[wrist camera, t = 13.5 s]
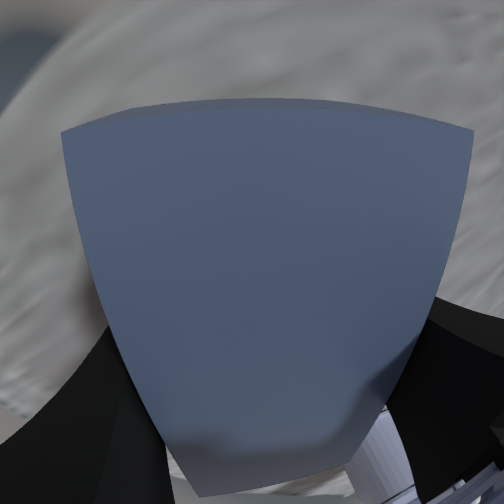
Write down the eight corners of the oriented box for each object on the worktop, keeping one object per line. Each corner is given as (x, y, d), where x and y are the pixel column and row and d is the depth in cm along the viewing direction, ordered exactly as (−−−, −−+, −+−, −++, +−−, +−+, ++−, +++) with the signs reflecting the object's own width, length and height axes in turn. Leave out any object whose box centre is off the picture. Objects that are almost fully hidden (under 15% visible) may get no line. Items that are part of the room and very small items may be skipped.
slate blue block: (304, 367, 14) (348, 462, 9) (183, 389, 13) (199, 497, 8) (331, 100, 8) (474, 130, 4) (130, 108, 7) (61, 132, 3)
